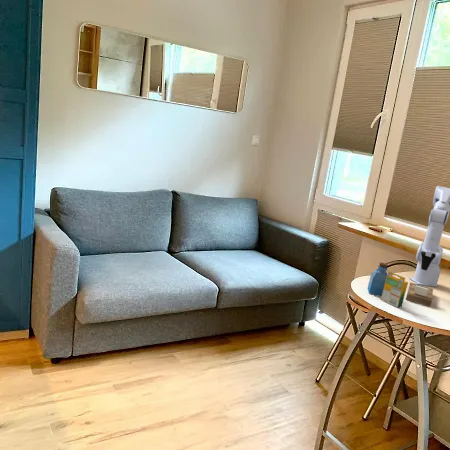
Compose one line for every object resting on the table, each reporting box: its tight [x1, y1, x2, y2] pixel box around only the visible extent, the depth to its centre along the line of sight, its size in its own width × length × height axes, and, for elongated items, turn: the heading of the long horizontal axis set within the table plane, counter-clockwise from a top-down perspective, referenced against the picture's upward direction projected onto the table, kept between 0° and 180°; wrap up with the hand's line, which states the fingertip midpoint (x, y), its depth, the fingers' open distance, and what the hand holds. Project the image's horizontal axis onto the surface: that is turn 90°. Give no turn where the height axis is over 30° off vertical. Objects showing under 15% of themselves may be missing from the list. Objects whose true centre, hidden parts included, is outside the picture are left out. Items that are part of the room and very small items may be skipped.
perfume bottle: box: [367, 262, 388, 297], centre depth 178 cm, size 6×6×12 cm
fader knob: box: [414, 283, 429, 297], centre depth 178 cm, size 3×4×3 cm
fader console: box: [405, 281, 434, 308], centre depth 183 cm, size 18×9×3 cm, turn 154°
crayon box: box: [380, 270, 409, 309], centre depth 169 cm, size 7×3×12 cm, turn 36°
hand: (423, 269), depth 189 cm, fingers closed
